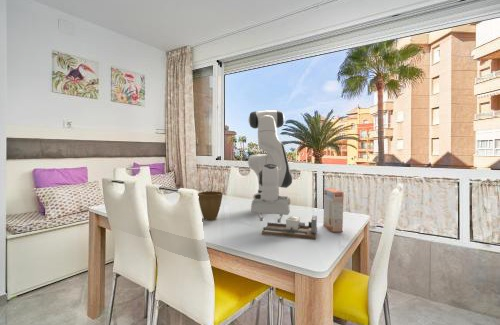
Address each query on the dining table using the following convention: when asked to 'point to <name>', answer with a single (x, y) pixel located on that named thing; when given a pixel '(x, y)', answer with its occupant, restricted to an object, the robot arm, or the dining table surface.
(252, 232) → the dining table surface
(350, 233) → the dining table surface
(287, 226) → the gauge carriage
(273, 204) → the robot arm
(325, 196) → the cracker box
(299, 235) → the gauge bench
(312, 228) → the grey long frame
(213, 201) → the plant pot
